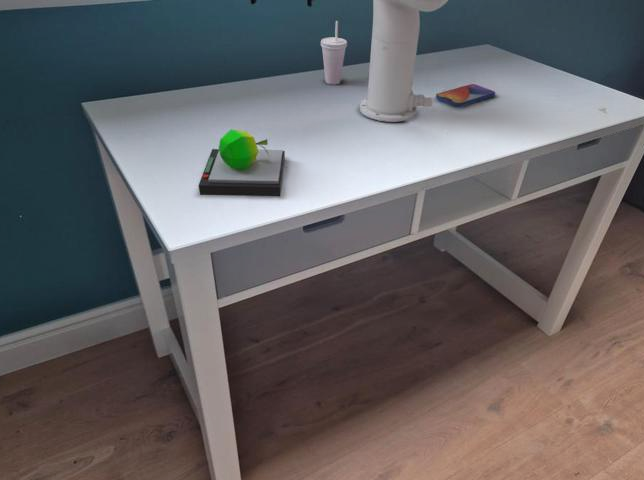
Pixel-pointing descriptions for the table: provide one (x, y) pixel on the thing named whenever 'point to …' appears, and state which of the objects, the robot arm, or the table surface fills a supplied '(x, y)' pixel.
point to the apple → (239, 149)
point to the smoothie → (333, 57)
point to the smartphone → (465, 95)
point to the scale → (244, 176)
